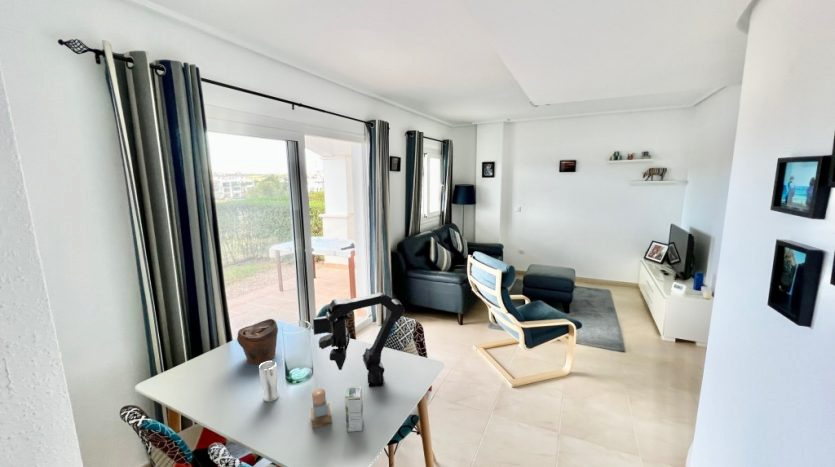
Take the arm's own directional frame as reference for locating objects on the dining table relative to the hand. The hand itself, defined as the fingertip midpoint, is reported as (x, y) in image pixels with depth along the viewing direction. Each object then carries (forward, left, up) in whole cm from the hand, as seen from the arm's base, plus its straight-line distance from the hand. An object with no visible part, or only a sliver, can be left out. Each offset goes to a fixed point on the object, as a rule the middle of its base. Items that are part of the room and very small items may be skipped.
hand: (341, 363), depth 149 cm
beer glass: (+30, +1, -13) cm, 33 cm away
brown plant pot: (+45, -31, -13) cm, 56 cm away
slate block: (+6, +17, -9) cm, 20 cm away
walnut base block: (+6, +17, -13) cm, 22 cm away
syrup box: (-7, +21, -13) cm, 26 cm away
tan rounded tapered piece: (+7, +17, -5) cm, 19 cm away
